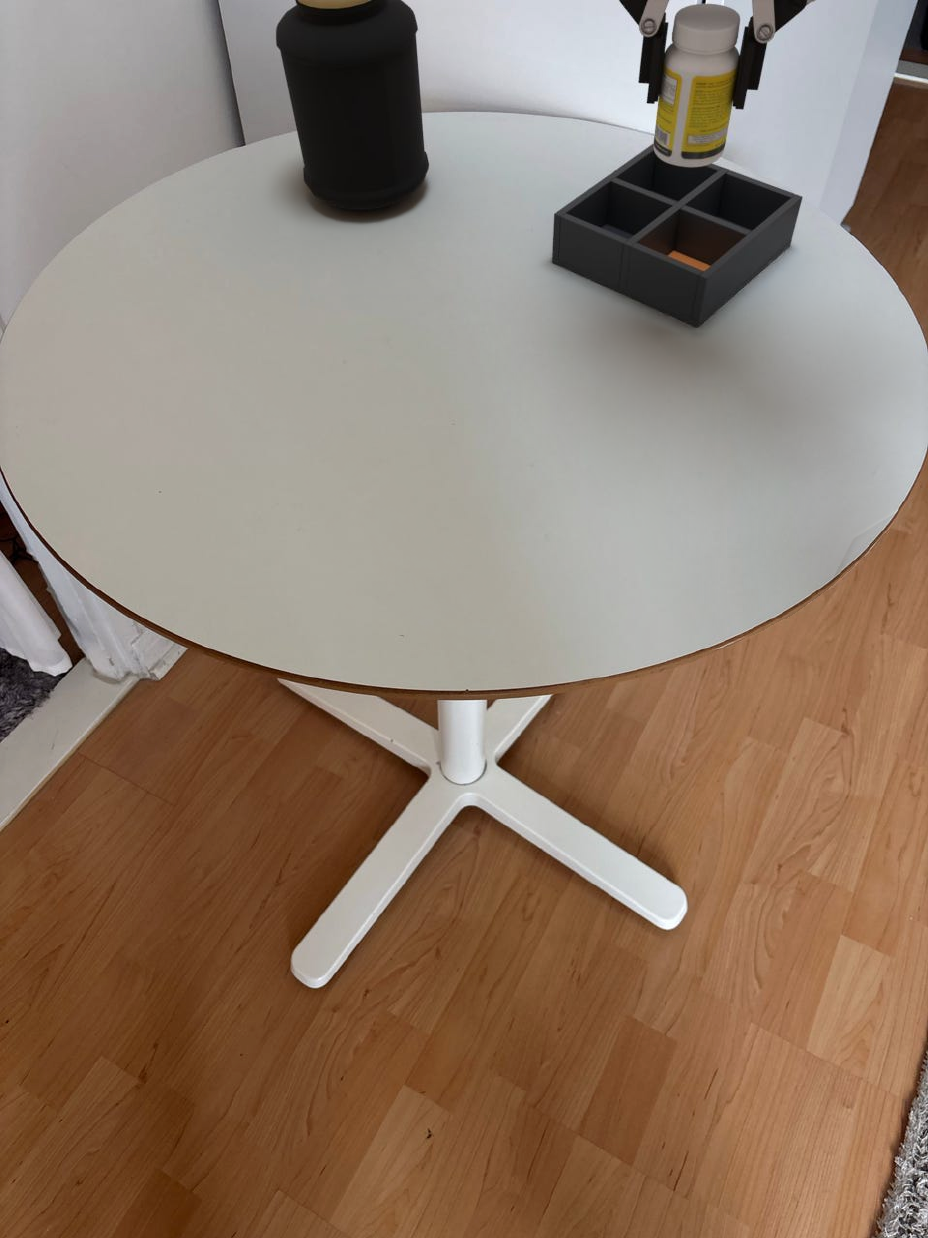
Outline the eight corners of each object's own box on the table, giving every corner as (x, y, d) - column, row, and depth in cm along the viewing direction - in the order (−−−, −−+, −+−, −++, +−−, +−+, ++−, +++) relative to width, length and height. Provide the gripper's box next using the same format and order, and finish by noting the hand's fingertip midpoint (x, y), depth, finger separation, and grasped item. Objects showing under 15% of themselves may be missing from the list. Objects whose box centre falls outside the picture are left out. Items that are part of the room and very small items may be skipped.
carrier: (790, 245, 85) (803, 196, 82) (697, 327, 79) (706, 278, 75) (648, 189, 91) (654, 141, 88) (551, 262, 85) (553, 213, 81)
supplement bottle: (734, 144, 67) (759, 9, 61) (706, 176, 65) (730, 39, 58) (669, 127, 69) (687, -6, 62) (640, 158, 67) (655, 23, 60)
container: (280, 181, 94) (240, -32, 80) (388, 143, 98) (368, -67, 83) (341, 239, 88) (310, 19, 73) (454, 196, 92) (445, -21, 77)
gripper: (923, -292, 51) (829, 78, 65) (592, -294, 53) (573, 63, 67) (935, -254, 46) (831, 134, 61) (574, -258, 49) (557, 116, 63)
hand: (696, 93), depth 64 cm, fingers closed on supplement bottle, 4 cm apart
